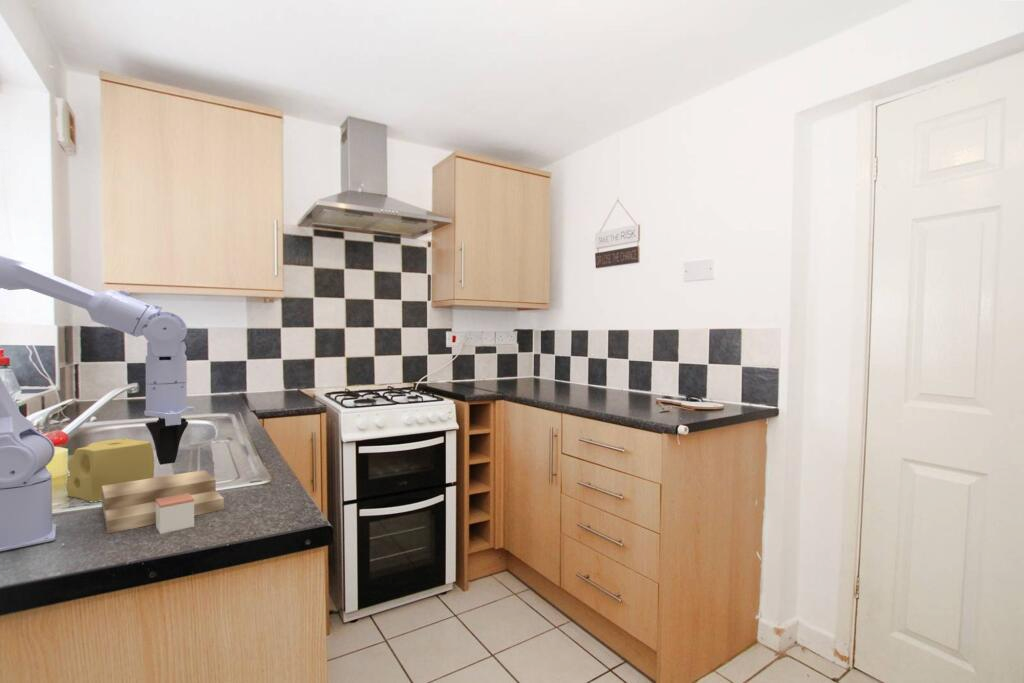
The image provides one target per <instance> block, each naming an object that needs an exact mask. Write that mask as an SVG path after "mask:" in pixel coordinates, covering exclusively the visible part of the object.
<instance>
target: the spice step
mask: <svg viewBox="0 0 1024 683" xmlns="http://www.w3.org/2000/svg"><path fill="white" fill-rule="evenodd" d="M216 481H217V480H216V479H215V478H214V477H213V475H211V474H210V473H208V471H206V469H201V470H195V471H190V472H189V471H188V472H182V473H177V474H170V475H169V474H168V475H163V476H157V477H153V478H150V479H143V480H137V481H130V482H124V483H117V484H111V485H105V486H102V501H101V509H103V510H102V514H104V515H103V519H105V520H104V524H105V527H106V528H105V529H106V533H107V534H113V533H118V532H122V531H127V530H132V529H137V528H142V527H146V526H151V525H156V499H159V498H164V497H170V496H175V495H180V494H186V493H189V494H190V495H191V496H192V497H193V499H194V517H196V516H200V515H204V514H209V513H215V512H220V511H224V510H225V498H224V497H223V496H222V495H221V494H220V493H219V492H218V491H217V490H216V488H217V487H216V486H217V484H216V483H217V482H216Z"/></svg>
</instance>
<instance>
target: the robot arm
mask: <svg viewBox="0 0 1024 683" xmlns="http://www.w3.org/2000/svg"><path fill="white" fill-rule="evenodd" d="M0 289H4V290H8V291H16V290H30V291H33V292H37V293H39V294H42V295H44V296H47V297H51V298H53V299H56V300H58V301H62V302H64V303H67V304H69V305H72V306H75V307H78V308H82V309H85V310H86V311H87V313H88V315H89V316H90V319H91V321H93V323H94V322H95V323H97V324H100V325H103V326H106V327H109V328H111V329H114V330H116V331H119V332H122V333H124V334H126V335H127V334H128V335H130V336H133V337H136V338H138V337H140V336H143V337H144V338H145V340H146V341H147V342H146V356H145V410H144V411H143V413H144V414H143V415H144V416H146V417H153V418H158V420H156V421H150V422H145V423H144V424H145V427H146V428H147V430H148V431H149V432H150V433H149V434H150V435H151V438H152V440H153V444H154V450H155V454H156V458H157V461H158V463H159V465H161V466H162V465H169V464H175V463H176V459H177V457H178V452H179V446H180V444H181V440H182V437H183V434H184V432H185V430H186V429H187V427H188V425H189V421H187V419H186V418H184V417H182V416H183V415H185V414H187V413H189V412H195V411H196V406H187V404H188V401H187V400H188V399H187V398H188V395H187V394H188V389H187V383H188V380H187V379H188V378H187V377H188V375H187V373H188V371H187V370H188V368H187V360H188V356H187V355H186V354H185V353H186V350H187V346H186V344H185V343H186V342H185V341H183V340H184V339H185V338H186V337H187V333H188V326H187V324H186V322H185V321H184V319H182V318H181V317H180V316H179V315H177V314H176V313H173V312H169V311H162V309H163V306H162V305H160V304H157V303H155V304H154V305H152V304H150V303H147V302H145V301H142V300H140V299H137V298H135V297H132V296H131V293H130V292H129V291H126V290H125V289H119V291H117V290H114V289H113V288H112V289H106V290H103V291H98V292H96V291H95V290H94V291H93V290H91V289H89V288H86V287H84V286H81V285H79V284H76V283H74V282H72V281H69V280H67V279H64V278H62V277H59V276H58V275H55V274H53V273H50V272H48V271H45V270H43V269H41V268H38V267H36V266H34V265H31V264H29V263H26V262H23V261H19V260H16V259H14V258H10V257H6V256H3V255H0ZM55 452H56V449H55V445H54V443H53V441H52V440H51V439H50V438H49V437H47V436H46V435H45V434H42V433H40V432H39V431H38V430H37V429H36V427H35V426H34V424H33V423H32V422H31V420H29V419H28V418H27V417H25V416H24V415H23V414H22V413H21V412H20V410H19V408H18V406H17V405H16V402H15V401H14V400H13V397H12V395H11V394H10V392H9V390H8V389H7V387H6V385H5V383H4V382H3V380H2V378H1V377H0V552H4V551H8V550H13V549H19V548H24V547H28V546H34V545H38V544H43V543H48V542H53V541H55V540H56V533H57V532H56V531H57V524H56V523H53V478H52V475H53V474H52V473H51V472H50V471H49V470H48V468H47V467H46V466H48V465H49V464H50V463H51V461H53V458H54V456H55Z"/></svg>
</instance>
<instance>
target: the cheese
mask: <svg viewBox="0 0 1024 683" xmlns="http://www.w3.org/2000/svg"><path fill="white" fill-rule="evenodd" d="M154 455H155V454H154V450H153V446H152V442H151V441H148V440H147V441H146V440H139V439H132V438H126V437H124V438H115V439H105V440H100V441H95V442H92V443H91V442H90V443H89V444H87V446H84V447H79V448H76V449H75V450H74V452H73V454H72V456H70V457H69V460H68V464H67V465H68V471H69V476H68V479H67V480H66V492H67V495H68V497H70V498H77V499H80V500H83V501H85V502H89V501H92V502H94V501H99V500H102V486H105V485H111V484H117V483H124V482H130V481H137V480H143V479H150V478H154V477H155V476H154V475H155V474H154V473H155V456H154ZM92 502H91V503H92Z"/></svg>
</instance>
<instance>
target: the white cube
mask: <svg viewBox="0 0 1024 683" xmlns="http://www.w3.org/2000/svg"><path fill="white" fill-rule="evenodd" d="M155 527H156V529H157V531H158V533H159V534H160V535H163V534H166V533H171V532H176V531H180V530H184V529H188V528H189V529H190V528H192V527H193V528H194V527H195V516H194V499H193V497H192V496H191V495H190V494H189V493H186V494H180V495H175V496H170V497H164V498H159V499H156V524H155Z"/></svg>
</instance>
